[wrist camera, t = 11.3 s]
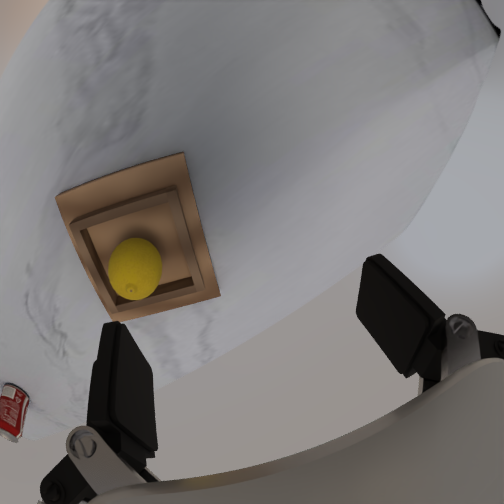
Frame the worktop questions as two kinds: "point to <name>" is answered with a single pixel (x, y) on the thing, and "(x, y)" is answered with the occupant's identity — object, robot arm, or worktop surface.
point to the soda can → (12, 412)
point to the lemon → (135, 268)
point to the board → (142, 233)
